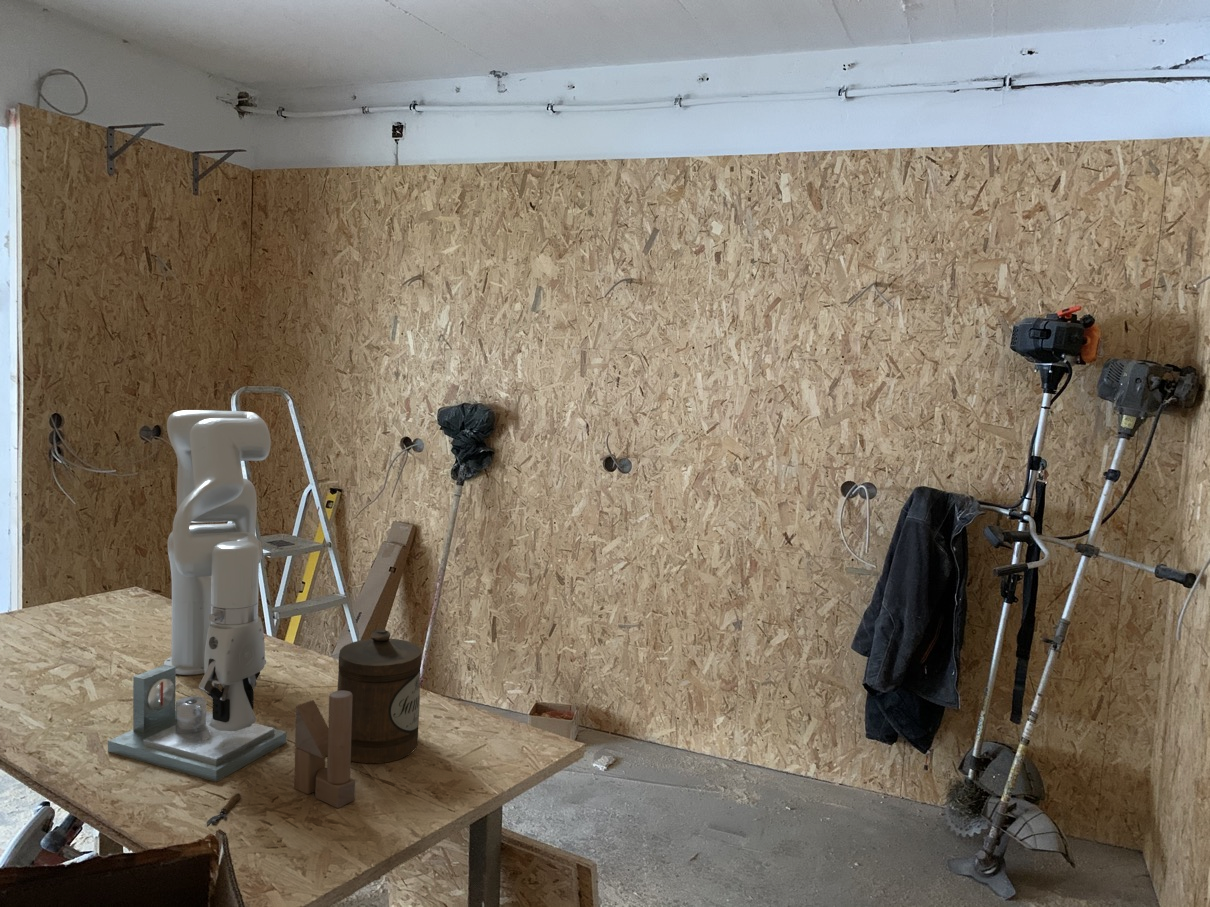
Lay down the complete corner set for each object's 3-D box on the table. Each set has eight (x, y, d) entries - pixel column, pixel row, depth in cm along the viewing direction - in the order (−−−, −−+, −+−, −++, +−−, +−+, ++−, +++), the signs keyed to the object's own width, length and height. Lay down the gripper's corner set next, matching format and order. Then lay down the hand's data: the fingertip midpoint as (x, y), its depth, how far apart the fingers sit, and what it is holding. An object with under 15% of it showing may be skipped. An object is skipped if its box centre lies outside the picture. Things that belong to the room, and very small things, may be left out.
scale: (184, 716, 171) (185, 656, 170) (286, 742, 163) (287, 679, 162) (107, 751, 156) (107, 685, 154) (216, 782, 147) (217, 712, 146)
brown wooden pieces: (311, 780, 150) (313, 677, 148) (355, 800, 144) (358, 693, 142) (292, 788, 147) (295, 683, 145) (337, 809, 141) (340, 700, 139)
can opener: (235, 798, 143) (235, 792, 143) (248, 800, 143) (248, 793, 143) (201, 828, 134) (201, 820, 134) (216, 830, 134) (216, 822, 134)
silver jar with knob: (190, 720, 163) (191, 694, 162) (212, 726, 161) (212, 699, 161) (168, 731, 158) (169, 703, 158) (190, 736, 157) (191, 709, 156)
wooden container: (416, 763, 158) (420, 643, 156) (329, 765, 156) (332, 642, 153) (419, 728, 173) (424, 618, 170) (340, 729, 170) (343, 617, 168)
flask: (235, 735, 152) (235, 679, 151) (201, 727, 154) (201, 671, 153) (264, 720, 159) (265, 665, 157) (231, 712, 161) (231, 659, 160)
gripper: (214, 629, 145) (213, 737, 147) (286, 604, 161) (284, 702, 163) (178, 622, 147) (177, 728, 149) (252, 598, 163) (251, 694, 165)
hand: (233, 713), depth 156 cm, fingers closed on flask, 4 cm apart
